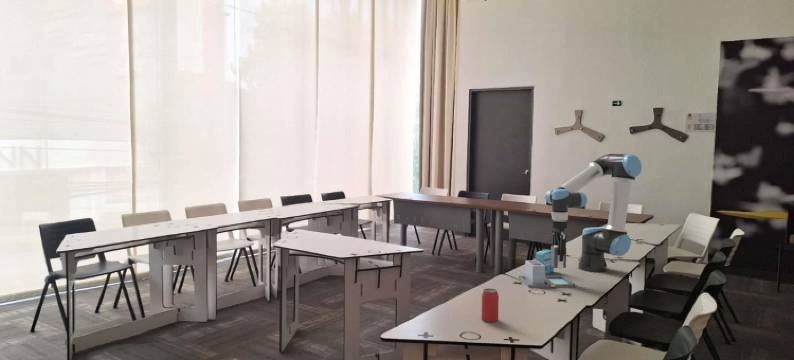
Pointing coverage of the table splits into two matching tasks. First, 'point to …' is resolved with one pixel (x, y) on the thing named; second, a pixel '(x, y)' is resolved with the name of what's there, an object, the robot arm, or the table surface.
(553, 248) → the plug
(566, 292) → the table surface
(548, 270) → the data package
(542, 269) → the block
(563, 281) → the grey flat panel
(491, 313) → the beer can
